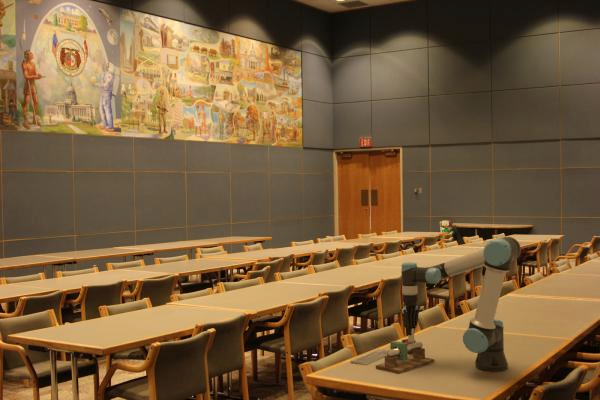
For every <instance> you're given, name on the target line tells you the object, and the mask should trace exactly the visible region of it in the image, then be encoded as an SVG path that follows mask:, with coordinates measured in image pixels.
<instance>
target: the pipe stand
mask: <svg viewBox="0 0 600 400" xmlns="http://www.w3.org/2000/svg"><path fill="white" fill-rule="evenodd" d="M433 363H435V358H429V357H426V348H423V347H422V348H419V349H416V350H413V354H408V360H406V361H401V360H397V357H395V356H392V357H388V356H385V358H384V362H383V363H380V364H376V365H375V369H376V370H381V371H383V372H384V371H385V372H389V373H393V374H396V375H398V374H402V373H405V372H408V371H412V370H415V369H418V368H421V367H424V366H428V365H430V364H433Z"/></svg>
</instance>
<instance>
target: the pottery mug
mask: <svg viewBox="0 0 600 400" xmlns="http://www.w3.org/2000/svg"><path fill="white" fill-rule="evenodd" d="M401 342H402V343H407V345H409V344H413V343H416V342H417V340H415V339H414V342H409V341H408V338H407V339H402V340H401ZM407 355H413V351H409V352H407Z"/></svg>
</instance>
